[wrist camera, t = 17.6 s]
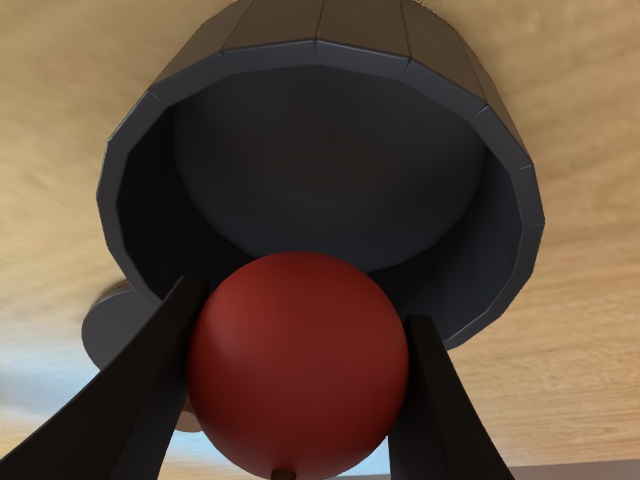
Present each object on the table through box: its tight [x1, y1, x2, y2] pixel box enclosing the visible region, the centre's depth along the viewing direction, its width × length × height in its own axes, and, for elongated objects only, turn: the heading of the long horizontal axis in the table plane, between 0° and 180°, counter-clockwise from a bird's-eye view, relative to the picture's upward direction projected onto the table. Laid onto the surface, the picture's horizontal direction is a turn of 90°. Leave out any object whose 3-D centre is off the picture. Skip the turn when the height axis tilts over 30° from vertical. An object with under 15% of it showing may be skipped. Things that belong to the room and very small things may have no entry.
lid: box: [82, 284, 203, 432], centre depth 26 cm, size 14×14×5 cm
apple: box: [185, 251, 409, 480], centre depth 10 cm, size 5×5×6 cm
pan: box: [96, 0, 545, 351], centre depth 16 cm, size 13×13×6 cm
